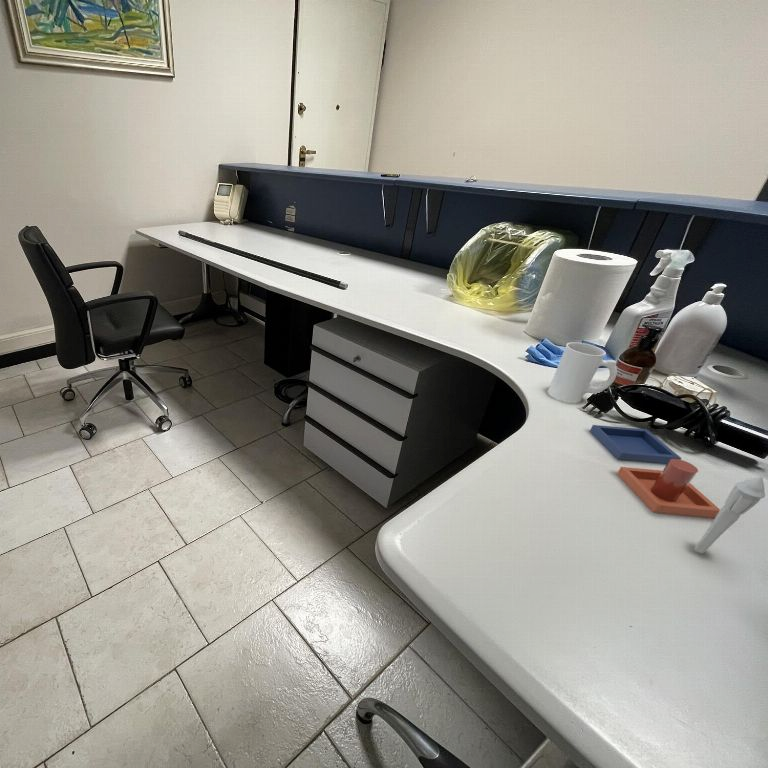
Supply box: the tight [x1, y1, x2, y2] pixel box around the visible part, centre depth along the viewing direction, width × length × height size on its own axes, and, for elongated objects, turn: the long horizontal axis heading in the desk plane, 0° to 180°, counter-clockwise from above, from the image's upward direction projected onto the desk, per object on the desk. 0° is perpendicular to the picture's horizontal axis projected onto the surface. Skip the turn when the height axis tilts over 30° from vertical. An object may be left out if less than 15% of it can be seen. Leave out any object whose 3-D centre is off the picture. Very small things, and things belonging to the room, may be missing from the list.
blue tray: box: [589, 424, 682, 465], centre depth 75 cm, size 10×9×2 cm
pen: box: [694, 476, 766, 555], centre depth 52 cm, size 2×3×14 cm
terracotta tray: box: [616, 466, 721, 519], centre depth 64 cm, size 9×9×2 cm
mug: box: [547, 341, 618, 404], centre depth 88 cm, size 10×7×12 cm, turn 49°
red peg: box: [651, 459, 699, 502], centre depth 63 cm, size 3×3×6 cm
